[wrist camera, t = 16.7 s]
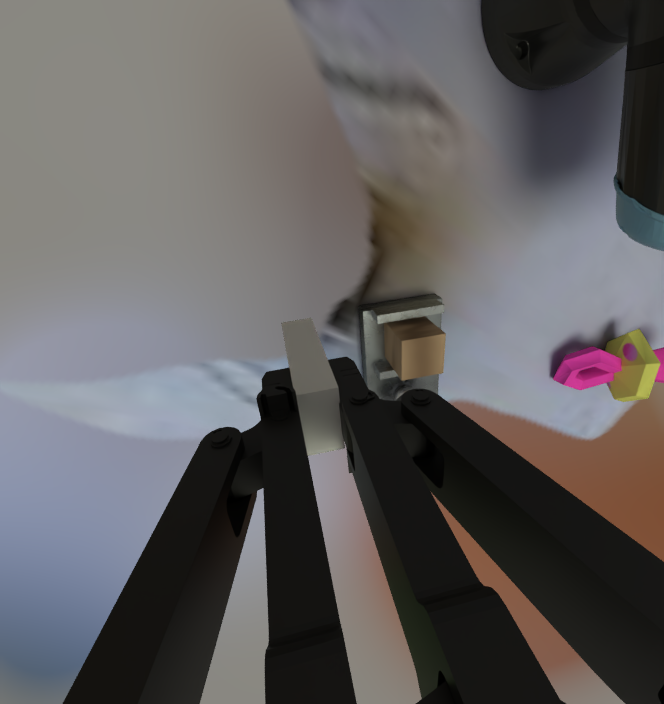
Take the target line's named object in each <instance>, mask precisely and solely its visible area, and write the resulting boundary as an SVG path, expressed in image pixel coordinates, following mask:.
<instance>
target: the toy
mask: <svg viewBox="0 0 664 704" xmlns="http://www.w3.org/2000/svg"><path fill="white" fill-rule="evenodd" d="M591 367H592V368H591ZM587 368H588V369H587ZM584 369H585V370H584ZM581 370H582V371H581ZM553 380H555V381H557V382H559V383H561V384H563V385H566V386H569V387H572V388H575V389H578V390H583V389H586V388H589V387H593V386H596V385H600V384H603V383H607V385H608V387H609V389H610V391H611V393H612V396H613V398H614V399H616V400H619V401H622V402H626V401H633V400H640V399H647V398H649V395H650V392H651V389H652V387H653V384H654V381H655V382H661V383H664V348H660V349H656V350H652V348H651V347H650V345H649V344H648V342H647V340H646V339H645V337H644V336H643V334H642V332H641V331H640V329H637V330H635V331H632V332H630V333H627V334H625V335H622V336H620V337H618V338H615V339H613V340H611V341H608V342H607V345H606V349H605V351H603V350H601V349H598V348H596V347H593V346H592V347H589V348H586V349H583V350H580V351H577V352H574V353H571V354H568V355H565V357H564V359H563V360H562V362H561V364H560V366H559V367H558V369H557V371H556V373H555V376H554V378H553Z"/></svg>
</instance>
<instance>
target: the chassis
mask: <svg viewBox="0 0 664 704" xmlns="http://www.w3.org/2000/svg"><path fill="white" fill-rule="evenodd" d="M442 313H444V304H442V298H441V297H439V296H438V295H436V294H430V295H424V296H418V297H412V298H405V299H399V300H393V301H387V302H381V303H375V304H369V305H362V306H359V319H360V334H361V349H362V364H363V379H364V381H365V383H366V385H367V387H368V389H369V390H371V391H374V392H375V393H376V394H377V395H378V397H379V399H383V400H391V401H396V400H397V399H398V398H399V397H400V396H401V395H402V394H404V393H405V392H406V391H408V390H412V389H427V390H431V391H433V392H434V393H436V394H438V378H439V374H435V375H430V376H424V377H419V378H413V379H408V380H403V381H402V380H401V379H400V378H399V376H398V375H397V373H396V372H395V370H394V369H393V368H392V366H391V365H390V363H389V362H388V361H387V359H386V358H385V344H384V323H387V322H392V321H398V320H404V319H410V318H416V317H422V316H425V317H427V318H428V319H429V320H430V321H431V322H433V323H434V324H435V325H436V326H437V327H438V328H440V329H441V315H442Z"/></svg>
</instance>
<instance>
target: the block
mask: <svg viewBox="0 0 664 704" xmlns="http://www.w3.org/2000/svg"><path fill="white" fill-rule="evenodd" d="M445 336H446V334H445V333H444V332H443V331H442V330H441V329H440V328H438V327H437V326H436V325H435V324H434V323H433V322H431V321H430V320H429V319H428V318H427V317H425V316H422V317H416V318H410V319H404V320H398V321H392V322H387V323H384V344H385V358H386V359H387V361H388V362H389V363H390V365H391V366H392V368H393V369H394V370H395V372H396V373H397V375H398V376H399V378H400V379H401V380H402V381H403V380H408V379H413V378H419V377H424V376H430V375H435V374H441V373H443V367H444V352H445Z"/></svg>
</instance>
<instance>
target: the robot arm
mask: <svg viewBox="0 0 664 704" xmlns="http://www.w3.org/2000/svg"><path fill="white" fill-rule="evenodd" d="M482 20H483V28H484V34H485V38H486V42H487V46H488V49H489V51H490V54H491V56H492V58H493V60H494V62H495V64H496V65H497V67H498V68H499V70H500V71H501V72H502V73H503V74H504V75H505V76H506V77H507V78H508V79H509V80H510V81H512V82H513V83H515V84H517V85H518V86H521V87H523V88H527V89H531V90H545V89H550V88H554V87H558V86H561V85H565V84H568V83H571V82H573V81H576V80H578V79H580V78H581V77H583V76H585V75H587V74H588V73H590V72H591V71H593V70H594V69H595V68H597V67H598V66H599V65H601V64H602V63H603V62H605V61H606V60H607V59H609V58H610V57H611V56H613V55H614V54H615V53H616V52H618V51H619V50H620V49H622V48H623V47H624V46H626V45H627V59H626V69H625V81H624V94H623V107H622V118H621V129H620V140H619V152H618V163H617V172H616V175H615V177H614V187H615V190H616V220H617V223H618V225H619V227H620V229H621V230H622V231H623V232H625V233H626V234H627V235H628V236H629V237H630V238H631V239H632V240H634V241H636V242H638V243H640V244H642V245H645V246H648V247H651V248H654V249H657V250H661V251H664V0H482ZM281 324H282V329H283V335H284V341H285V346H286V352H287V358H288V364H289V368H285V369H280V370H274V371H269V372H266V373H265V375H264V376H263V378H262V391H261V392H260V393H259V394H258V395H257V398H256V399H257V404H258V408H259V412H260V416H261V421H260V422H259V423H258V424H257V425H255V426H254V427H253V428H251V429H249V430H247V431H244V432H242V433H240V431H239V430H238V429H236V428H233V427H224V428H219V429H216V430H214V431H212V432H210V433H209V434H207V435H206V436H205V437H204V438H203V439H202V441H201V442H200V444H199V446H198V448H197V450H196V452H195V454H194V456H193V458H192V459H191V461H190V463H189V465H188V467H187V469H186V471H185V473H184V475H183V476H182V478H181V480H180V482H179V484H178V486H177V488H176V490H175V492H174V494H173V496H172V498H171V499H170V501H169V503H168V505H167V507H166V509H165V511H164V513H163V514H162V516H161V518H160V520H159V522H158V524H157V526H156V528H155V530H154V531H153V534H152V535H151V537H150V539H149V541H148V543H147V545H146V547H145V549H144V551H143V552H142V554H141V556H140V558H139V560H138V562H137V564H136V566H135V568H134V569H133V571H132V573H131V575H130V577H129V579H128V581H127V583H126V585H125V586H124V588H123V590H122V592H121V594H120V596H119V598H118V600H117V602H116V604H115V605H114V607H113V609H112V611H111V613H110V615H109V617H108V619H107V621H106V623H105V625H104V626H103V628H102V630H101V632H100V634H99V636H98V638H97V640H96V641H95V643H94V645H93V647H92V649H91V651H90V653H89V655H88V657H87V659H86V660H85V663H84V664H83V666H82V668H81V670H80V672H79V674H78V676H77V677H76V679H75V681H74V683H73V685H72V687H71V689H70V691H69V693H68V695H67V696H66V698H65V700H64V702H63V704H199V703H200V700H201V696H202V693H203V689H204V685H205V682H206V678H207V674H208V671H209V667H210V664H211V660H212V657H213V653H214V649H215V646H216V642H217V638H218V634H219V631H220V627H221V624H222V620H223V617H224V613H225V609H226V606H227V602H228V599H229V595H230V591H231V588H232V584H233V581H234V577H235V573H236V570H237V566H238V562H239V559H240V555H241V552H242V548H243V544H244V541H245V537H246V533H247V529H248V526H249V523H250V519H251V515H252V512H253V508H254V504H255V501H256V497H257V491H258V490H260V489H262V488H264V514H265V540H266V566H267V596H268V623H269V645H268V647H267V649H266V654H265V700H266V704H357V703H356V698H355V693H354V688H353V683H352V678H351V672H350V668H349V662H348V657H347V652H346V647H345V642H344V637H343V632H342V628H341V624H340V619H339V614H338V609H337V604H336V599H335V594H334V589H333V584H332V579H331V573H330V568H329V563H328V558H327V552H326V547H325V542H324V537H323V532H322V527H321V522H320V517H319V512H318V507H317V501H316V496H315V491H314V486H313V481H312V476H311V470H310V465H309V460H308V456H310V455H314V454H320V453H324V452H329V451H334V450H338V449H342V448H345V445H344V441H345V444H346V447H347V458H348V467H349V473H353V476H354V479H355V483H356V486H357V489H358V492H359V495H360V498H361V501H362V504H363V507H364V510H365V513H366V517H367V520H368V523H369V526H370V529H371V532H372V535H373V538H374V541H375V544H376V547H377V550H378V554H379V557H380V560H381V563H382V566H383V569H384V572H385V575H386V578H387V581H388V585H389V587H390V591H391V594H392V597H393V600H394V603H395V606H396V609H397V612H398V615H399V619H400V622H401V625H402V628H403V631H404V634H405V637H406V640H407V643H408V646H409V649H410V653H411V656H412V659H413V662H414V665H415V669H416V673H417V677H418V683H419V688H420V692H421V697H422V699H421V700H420V701H419V702H418V703H416V704H566V703H564V702H563V701H561V700H560V699H559V697H558V695H557V694H556V692H555V690H554V688H553V687H552V685H551V683H550V681H549V680H548V678H547V676H546V674H545V673H544V671H543V669H542V668H541V666H540V664H539V662H538V661H537V659H536V657H535V655H534V654H533V652H532V650H531V649H530V647H529V645H528V643H527V641H526V640H525V638H524V636H523V635H522V633H521V631H520V629H519V628H518V626H517V624H516V622H515V621H514V619H513V617H512V615H511V614H510V612H509V610H508V609H507V607H506V605H505V604H504V602H503V601H502V599H501V598H500V596H499V595H498V593H497V592H496V591H495V590H494V589H493V588H491V587H487V586H483V584H482V583H481V582H480V581H479V579H478V578H477V577H476V574H475V573H474V571H473V569H472V567H471V565H470V563H469V562H468V560H467V558H466V556H465V554H464V552H463V551H462V549H461V547H460V545H459V543H458V541H457V540H456V538H455V536H454V534H453V532H452V530H451V529H450V527H449V525H448V523H447V521H446V519H445V518H444V516H443V514H442V512H441V510H440V509H439V507H438V505H437V503H436V501H435V499H434V498H433V496H432V494H431V492H432V493H433V495H435V497H436V498H437V499H438V500H439V501H440V502H441V503H442V505H443V506H444V507H445V508H446V509H447V510H448V511H449V512H450V513H451V514H452V516H453V517H454V518H455V519H456V520H457V521H458V522H459V523H460V524H461V525H462V527H463V528H464V529H465V530H466V531H467V532H468V533H469V534H470V535H471V537H472V538H473V539H474V540H475V541H476V542H477V543H478V544H479V545H480V546H481V547H482V549H483V550H484V551H485V552H486V553H487V554H488V555H489V556H490V557H491V559H492V560H493V561H494V562H495V563H496V564H497V565H498V566H499V567H500V568H501V570H502V571H503V572H504V573H505V574H506V575H507V576H508V577H509V578H510V579H511V581H512V582H513V583H514V584H515V585H516V586H517V587H518V588H519V589H520V591H521V592H522V593H523V594H524V595H525V596H526V597H527V598H528V599H529V601H530V602H531V603H532V604H533V605H534V606H535V607H536V608H537V609H538V610H539V612H540V613H541V614H542V615H543V616H544V617H545V618H546V619H547V620H548V621H549V623H550V624H551V625H552V626H553V627H554V628H555V629H556V630H557V631H558V632H559V634H560V635H561V636H562V637H563V638H564V639H565V640H566V641H567V642H568V644H569V645H570V646H571V647H572V648H573V649H574V650H575V651H576V652H577V653H578V654H579V656H581V658H582V659H583V660H584V661H585V662H586V663H587V664H588V666H589V667H590V668H591V669H592V670H593V671H594V672H595V673H596V674H597V675H598V676H599V677H600V678H601V679H602V680H603V681H604V682H605V684H606V685H607V686H608V687H609V688H610V689H611V690H612V691H613V692H614V693H615V694H616V695H617V696H618V697H619V698H620V699H621V700H622V701H623V702H624V703H626V704H664V562H663V561H662V560H660V559H659V558H658V557H656V556H655V555H654V554H652V553H651V552H649V551H648V550H647V549H646V548H644V547H643V546H642V545H640V544H639V543H637V542H636V541H635V540H633V539H632V538H631V537H629V536H628V535H627V534H625V533H624V532H623V531H621V530H620V529H619V528H617V527H616V526H614V525H613V524H612V523H610V522H609V521H608V520H606V519H605V518H604V517H602V516H601V515H599V514H598V513H597V512H596V511H594V510H593V509H592V508H590V507H589V506H587V505H586V504H585V503H583V502H582V501H581V500H579V499H578V498H577V497H575V496H574V495H573V494H571V493H570V492H569V491H567V490H566V489H565V488H563V487H562V486H560V485H559V484H558V483H556V482H555V481H554V480H552V479H551V478H550V477H548V476H547V475H545V474H544V473H543V472H542V471H540V470H539V469H537V468H536V467H535V466H533V465H532V464H531V463H529V462H528V461H526V460H525V459H524V458H523V457H521V456H520V455H519V454H517V453H516V452H515V451H513V450H512V449H510V448H509V447H508V446H506V445H505V444H504V443H502V442H501V441H500V440H498V439H497V438H495V437H494V436H493V435H492V434H490V433H489V432H488V431H486V430H485V429H484V428H482V427H481V426H479V425H478V424H477V423H475V422H474V421H473V420H471V419H470V418H469V417H467V416H466V415H465V414H463V413H462V412H461V411H459V410H458V409H456V408H455V407H454V406H452V405H451V404H450V403H448V402H447V401H446V400H444V399H443V398H442V397H440V396H439V395H438V394H436V393H434V392H433V391H431V390H427V389H412V390H408V391H406V392H405V393H404V394H403V395H402V396H401V401H391V400H383V399H379V397H378V395H377V394H376V393H375V392H374V391H371V390H369V389H368V387H367V385H366V383H365V381H364V379H363V377H362V376H361V374H360V372H359V370H358V369H357V366H356V364H355V362H354V361H353V360H351V359H350V358H348V357H342V358H336V359H330V360H327V357H326V354H325V352H324V349H323V347H322V344H321V342H320V339H319V337H318V334H317V332H316V329H315V326H314V324H313V321H312V319H311V318H308V319H302V320H295V321H289V322H283V323H281ZM430 491H431V492H430Z"/></svg>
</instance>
